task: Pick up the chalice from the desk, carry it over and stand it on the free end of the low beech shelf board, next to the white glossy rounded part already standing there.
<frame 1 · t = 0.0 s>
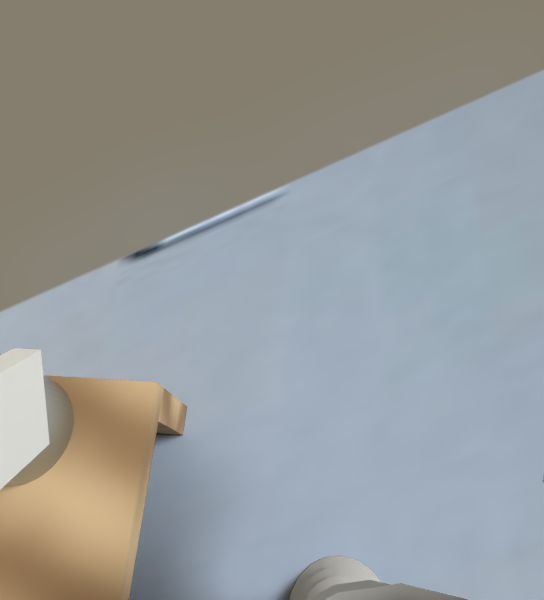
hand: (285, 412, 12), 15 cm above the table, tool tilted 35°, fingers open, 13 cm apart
white glossy rounded part: (20, 428, 22), point 6 cm above the table, touching shelf
shelf: (51, 562, 25), on the table
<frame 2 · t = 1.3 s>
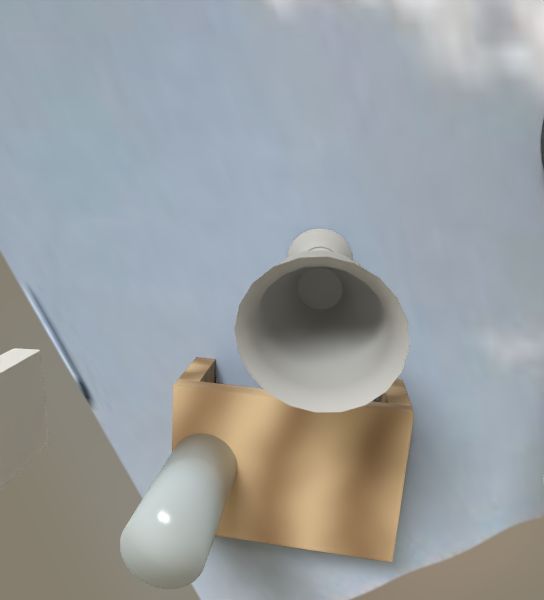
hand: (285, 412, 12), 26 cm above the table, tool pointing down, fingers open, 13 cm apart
white glossy rounded part: (204, 464, 36), point 6 cm above the table, touching shelf
shelf: (291, 434, 41), on the table
chalice: (319, 260, 38), on the table
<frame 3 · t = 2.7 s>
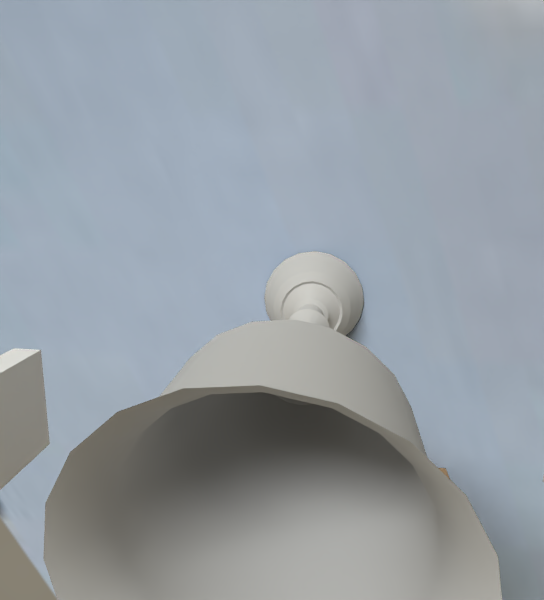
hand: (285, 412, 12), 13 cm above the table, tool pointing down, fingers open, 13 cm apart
chalice: (313, 299, 25), on the table
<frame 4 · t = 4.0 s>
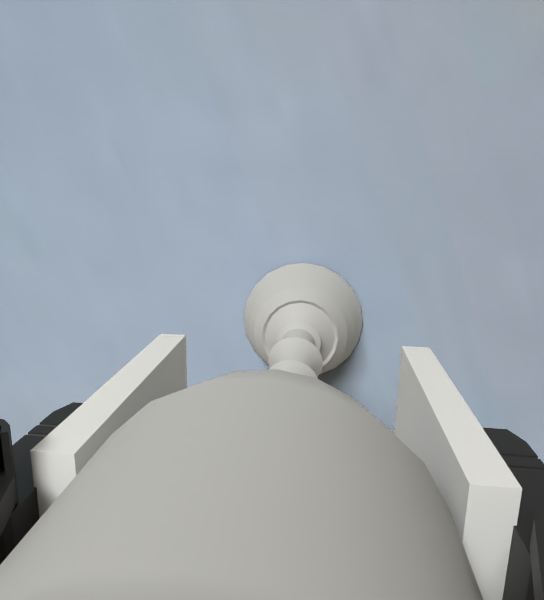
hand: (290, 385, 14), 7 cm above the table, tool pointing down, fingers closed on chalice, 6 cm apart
chalice: (302, 320, 21), on the table, touching gripper
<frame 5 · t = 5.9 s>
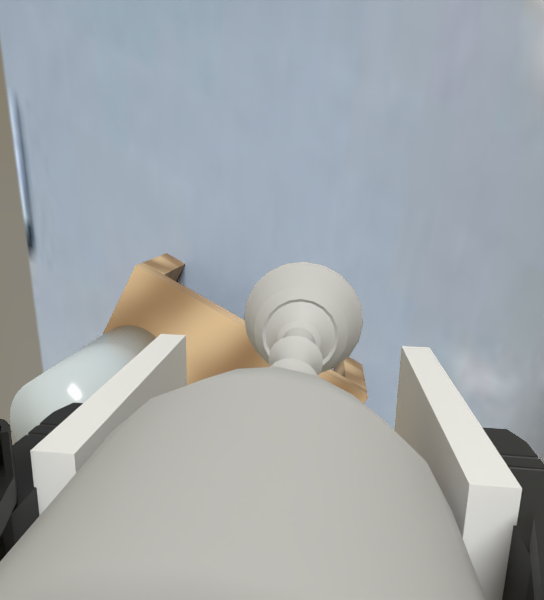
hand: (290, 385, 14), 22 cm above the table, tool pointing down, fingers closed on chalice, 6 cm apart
white glossy rounded part: (131, 361, 32), point 6 cm above the table, touching shelf
shelf: (228, 372, 38), on the table
chalice: (302, 318, 21), point 15 cm above the table, touching gripper
when the fingers open (14 cm above the table, at t = 8.2 s): chalice drops 1 cm, resting on shelf.
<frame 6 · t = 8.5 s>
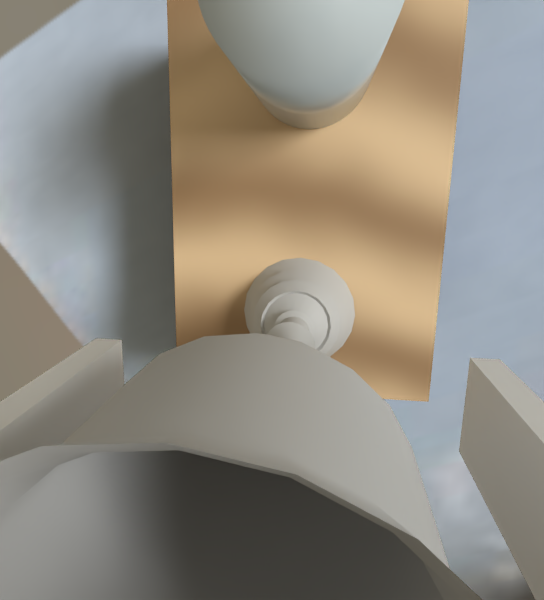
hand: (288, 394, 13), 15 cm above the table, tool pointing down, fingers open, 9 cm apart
white glossy rounded part: (311, 65, 20), point 6 cm above the table, touching shelf
shelf: (309, 208, 27), on the table
chalice: (299, 311, 22), point 6 cm above the table, touching shelf
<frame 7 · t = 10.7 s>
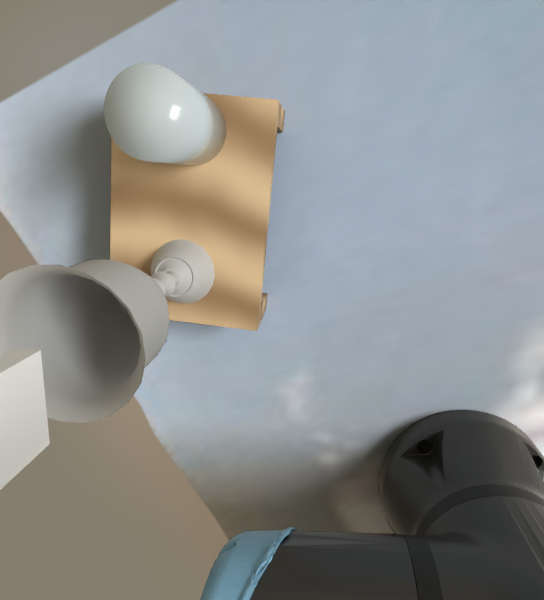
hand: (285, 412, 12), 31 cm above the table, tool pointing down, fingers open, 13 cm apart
white glossy rounded part: (192, 129, 35), point 6 cm above the table, touching shelf
shelf: (206, 208, 42), on the table
chalice: (183, 271, 38), point 6 cm above the table, touching shelf
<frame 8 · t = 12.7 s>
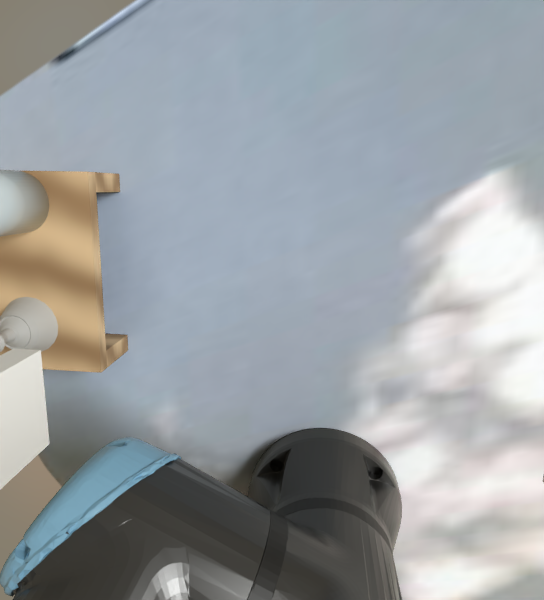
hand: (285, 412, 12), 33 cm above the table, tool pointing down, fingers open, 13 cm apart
white glossy rounded part: (20, 202, 40), point 6 cm above the table, touching shelf
shelf: (64, 263, 47), on the table
chalice: (31, 324, 42), point 6 cm above the table, touching shelf
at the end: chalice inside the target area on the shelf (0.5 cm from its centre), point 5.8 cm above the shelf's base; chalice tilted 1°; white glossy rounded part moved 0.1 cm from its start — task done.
